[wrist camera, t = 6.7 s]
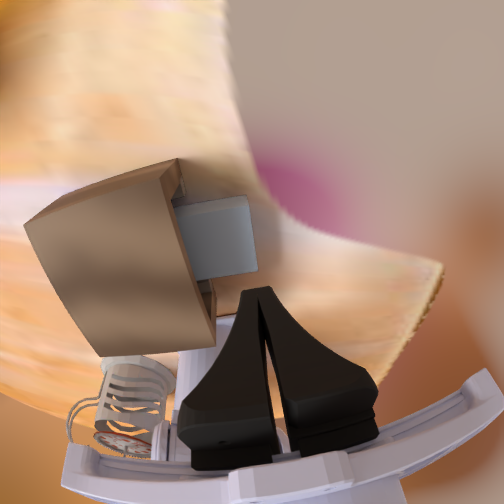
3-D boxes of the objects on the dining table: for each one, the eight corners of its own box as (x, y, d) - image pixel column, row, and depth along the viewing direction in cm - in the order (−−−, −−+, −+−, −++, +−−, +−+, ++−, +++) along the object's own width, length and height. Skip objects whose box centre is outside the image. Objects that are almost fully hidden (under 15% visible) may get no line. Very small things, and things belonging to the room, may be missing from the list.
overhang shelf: (216, 298, 23) (216, 346, 18) (116, 313, 23) (99, 357, 18) (177, 158, 17) (159, 177, 12) (62, 195, 17) (23, 225, 12)
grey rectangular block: (254, 253, 22) (258, 270, 20) (169, 267, 22) (164, 285, 19) (245, 193, 19) (248, 205, 17) (152, 210, 19) (143, 224, 17)
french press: (170, 403, 32) (167, 570, 10) (90, 380, 29) (60, 543, 7) (184, 365, 28) (182, 587, 6) (85, 337, 24) (34, 548, 3)
